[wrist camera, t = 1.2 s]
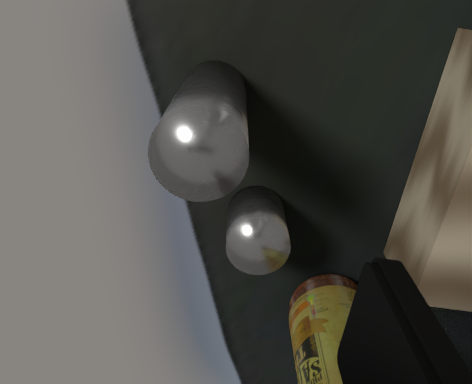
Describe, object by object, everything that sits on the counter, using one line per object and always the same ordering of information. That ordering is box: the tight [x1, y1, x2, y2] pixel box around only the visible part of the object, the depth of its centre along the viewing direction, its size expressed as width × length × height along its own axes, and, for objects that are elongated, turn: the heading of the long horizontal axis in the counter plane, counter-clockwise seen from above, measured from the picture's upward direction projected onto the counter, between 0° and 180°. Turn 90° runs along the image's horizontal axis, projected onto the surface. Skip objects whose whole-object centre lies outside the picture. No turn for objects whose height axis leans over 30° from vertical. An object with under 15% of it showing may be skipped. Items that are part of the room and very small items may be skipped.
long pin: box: [148, 60, 249, 202], centre depth 23 cm, size 4×4×12 cm
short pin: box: [226, 186, 291, 275], centre depth 30 cm, size 4×4×5 cm
